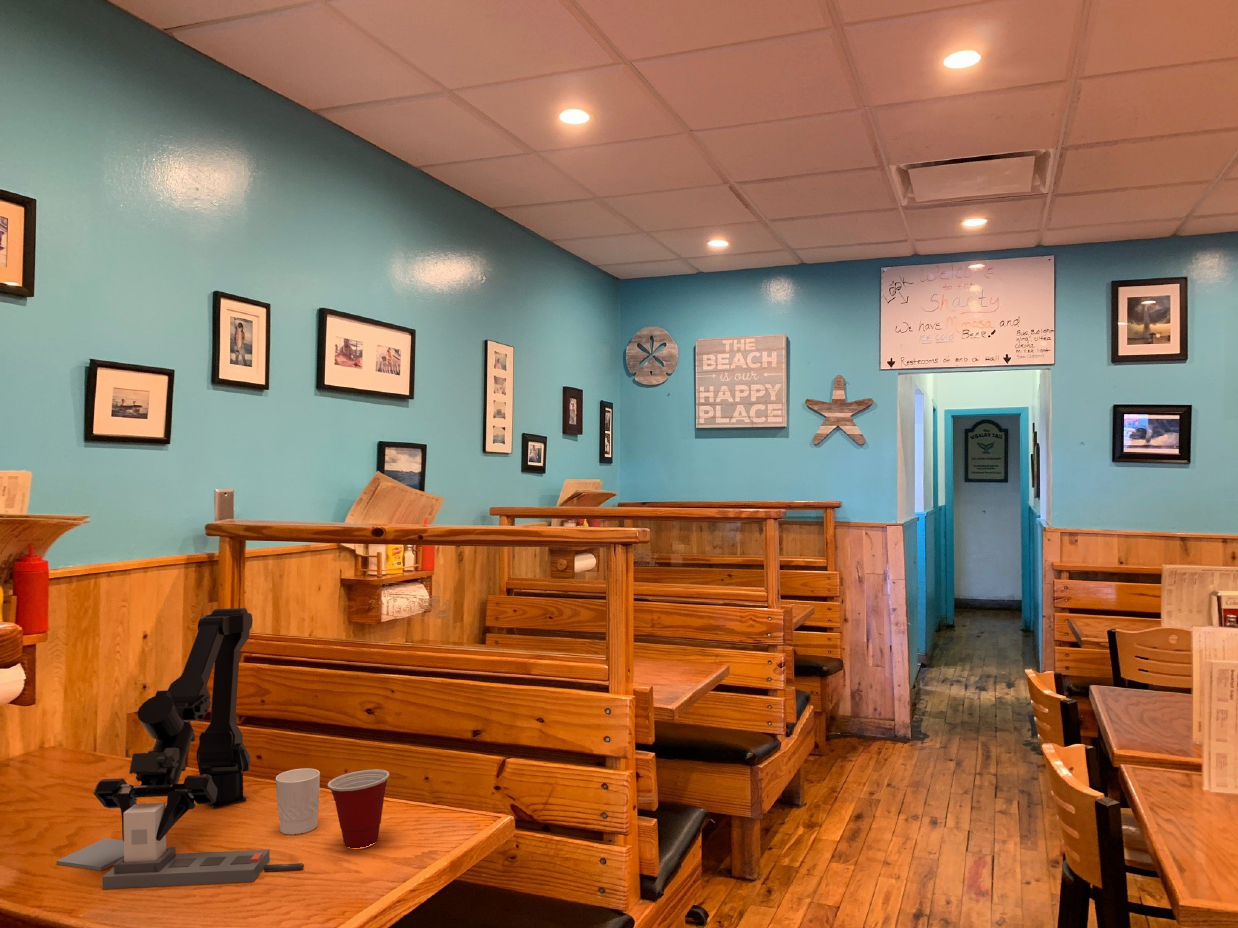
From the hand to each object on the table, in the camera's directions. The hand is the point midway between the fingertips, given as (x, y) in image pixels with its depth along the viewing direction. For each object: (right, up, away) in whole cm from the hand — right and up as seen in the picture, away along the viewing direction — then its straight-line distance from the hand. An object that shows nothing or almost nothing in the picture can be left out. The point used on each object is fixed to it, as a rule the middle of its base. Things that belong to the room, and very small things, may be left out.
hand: (141, 840), depth 148 cm
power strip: (+11, -6, +2) cm, 12 cm away
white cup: (+19, -7, +21) cm, 29 cm away
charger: (0, -5, +1) cm, 5 cm away
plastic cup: (+32, -6, +13) cm, 36 cm away
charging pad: (-12, -7, +10) cm, 17 cm away
